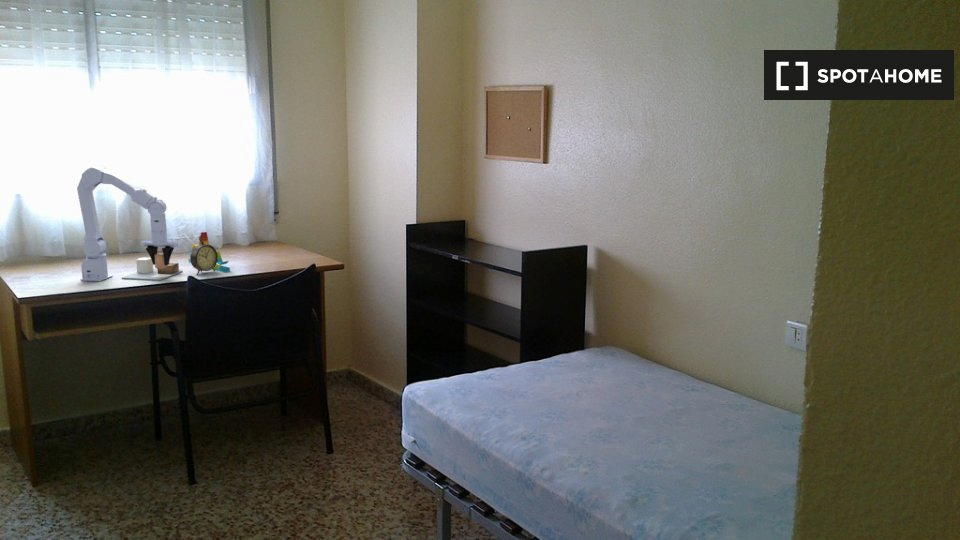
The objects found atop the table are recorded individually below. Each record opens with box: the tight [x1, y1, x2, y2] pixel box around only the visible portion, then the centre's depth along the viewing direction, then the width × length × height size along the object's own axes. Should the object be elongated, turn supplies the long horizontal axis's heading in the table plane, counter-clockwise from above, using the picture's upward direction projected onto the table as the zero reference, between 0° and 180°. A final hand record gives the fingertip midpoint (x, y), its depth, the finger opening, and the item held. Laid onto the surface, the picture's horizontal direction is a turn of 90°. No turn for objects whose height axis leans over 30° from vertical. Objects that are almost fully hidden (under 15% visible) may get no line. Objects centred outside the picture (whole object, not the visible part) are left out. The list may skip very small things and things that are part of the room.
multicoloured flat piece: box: [187, 231, 231, 273], centre depth 336 cm, size 30×3×15 cm, turn 47°
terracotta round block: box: [154, 252, 167, 269], centre depth 313 cm, size 4×4×6 cm
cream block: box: [135, 257, 154, 273], centre depth 321 cm, size 4×4×6 cm
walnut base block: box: [156, 262, 180, 274], centre depth 321 cm, size 6×6×4 cm
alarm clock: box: [189, 233, 218, 276], centre depth 323 cm, size 11×5×16 cm, turn 148°
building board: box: [121, 268, 183, 282], centre depth 318 cm, size 18×16×1 cm
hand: (161, 264), depth 313 cm, fingers closed on terracotta round block, 4 cm apart
